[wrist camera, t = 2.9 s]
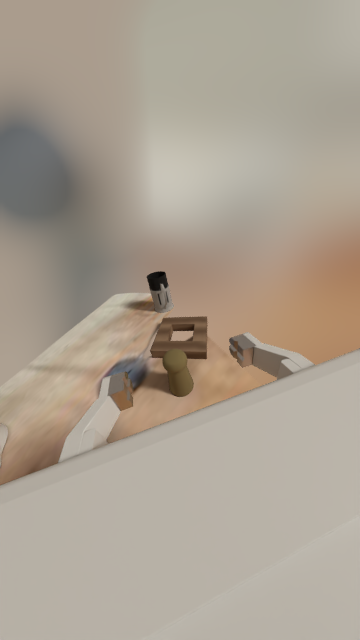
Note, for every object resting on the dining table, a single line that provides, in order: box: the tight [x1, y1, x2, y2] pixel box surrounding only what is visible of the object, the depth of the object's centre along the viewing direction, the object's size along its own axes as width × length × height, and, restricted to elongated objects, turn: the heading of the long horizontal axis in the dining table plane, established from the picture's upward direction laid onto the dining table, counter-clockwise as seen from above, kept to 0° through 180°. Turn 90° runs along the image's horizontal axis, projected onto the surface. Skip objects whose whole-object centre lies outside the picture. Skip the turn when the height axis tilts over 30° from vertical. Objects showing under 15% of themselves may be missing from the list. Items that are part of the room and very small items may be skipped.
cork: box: [163, 349, 194, 397], centre depth 34 cm, size 6×6×11 cm
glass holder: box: [147, 272, 174, 313], centre depth 62 cm, size 9×14×15 cm, turn 20°
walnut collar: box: [150, 317, 207, 359], centre depth 50 cm, size 16×16×3 cm
